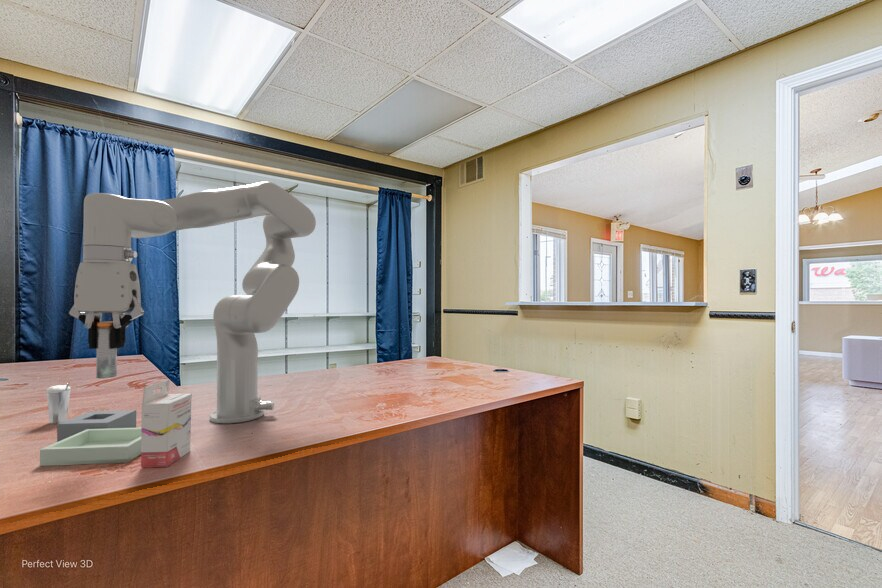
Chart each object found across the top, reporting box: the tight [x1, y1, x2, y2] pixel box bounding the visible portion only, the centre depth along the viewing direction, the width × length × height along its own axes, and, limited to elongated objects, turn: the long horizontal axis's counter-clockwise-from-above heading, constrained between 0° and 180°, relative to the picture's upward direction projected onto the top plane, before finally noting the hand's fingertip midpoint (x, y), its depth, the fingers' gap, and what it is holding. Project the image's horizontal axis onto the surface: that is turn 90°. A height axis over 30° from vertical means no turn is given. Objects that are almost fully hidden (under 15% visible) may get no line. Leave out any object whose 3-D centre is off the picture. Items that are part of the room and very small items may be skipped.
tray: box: [39, 426, 142, 467], centre depth 84 cm, size 15×12×3 cm
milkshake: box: [45, 381, 72, 425], centre depth 104 cm, size 5×5×10 cm
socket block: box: [56, 409, 137, 442], centre depth 95 cm, size 10×10×4 cm
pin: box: [95, 321, 118, 379], centre depth 84 cm, size 3×3×11 cm
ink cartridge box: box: [140, 379, 193, 468], centre depth 81 cm, size 9×5×15 cm, turn 5°
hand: (107, 346), depth 84 cm, fingers closed on pin, 3 cm apart
